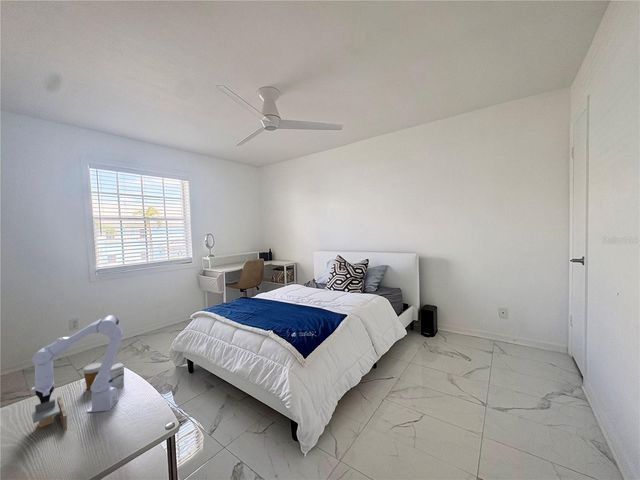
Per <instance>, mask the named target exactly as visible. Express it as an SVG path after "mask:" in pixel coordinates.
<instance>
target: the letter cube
mask: <svg viewBox="0 0 640 480" xmlns="http://www.w3.org/2000/svg"><path fill="white" fill-rule="evenodd" d="M53 417H54V416H52V417H49V418H46V419H44V420H41V421H38V427H39V428H42V427H45V426H47V425H51V424H53V421H54V420H53Z"/></svg>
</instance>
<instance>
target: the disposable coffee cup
mask: <svg viewBox="0 0 640 480" xmlns="http://www.w3.org/2000/svg"><path fill="white" fill-rule="evenodd" d="M101 364H102V361H94V362H92V363H89V364H87V365H85V366H84V367H83V369H82V372H83V374H84V381H85V387H86V389H87V390H88V391H91V389H90V387H91V385H92V383H93V382H94V380H95V377H96V375H97V374H98V372H99V370H100V367H101Z"/></svg>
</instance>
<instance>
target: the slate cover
mask: <svg viewBox="0 0 640 480" xmlns="http://www.w3.org/2000/svg"><path fill="white" fill-rule="evenodd" d="M34 408H35V409H34V410H35V411H33V412H31V416H32V423H33V424H35V423H39V421H41V420H44V419H46V418H49V417H52V416H53V417H54V416H56V415H59V413H60V409H59V406H58V403H57V402H56V398H52V399H50V400H49V401H46V402H44V403H39V404H35V406H34Z"/></svg>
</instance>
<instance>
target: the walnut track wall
mask: <svg viewBox="0 0 640 480" xmlns="http://www.w3.org/2000/svg"><path fill="white" fill-rule="evenodd" d="M56 401H57V402H56V404H57V403H58V406H59V409H60V413H59V414H58V416H59V419H60V422H61V426H62V429H63V431H65V430H68V415H67V412H66V409H65V406H64V403H63V401H62V397H61V396H60V395H59V396H57V400H56Z"/></svg>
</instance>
